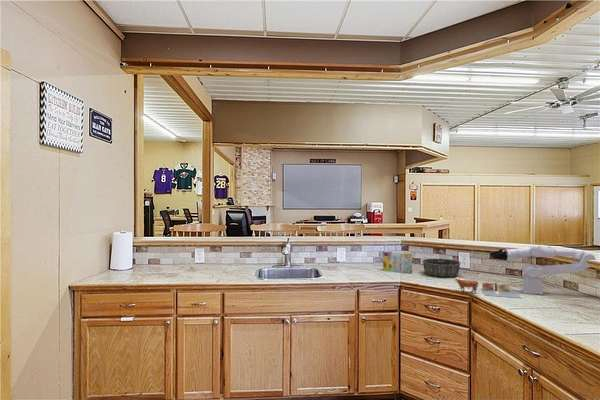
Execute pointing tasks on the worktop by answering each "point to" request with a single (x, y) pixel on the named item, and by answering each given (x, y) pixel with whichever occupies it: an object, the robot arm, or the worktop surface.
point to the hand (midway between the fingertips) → (491, 255)
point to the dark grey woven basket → (441, 267)
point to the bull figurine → (466, 284)
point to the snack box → (397, 262)
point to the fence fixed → (501, 287)
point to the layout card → (500, 293)
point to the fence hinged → (487, 286)
